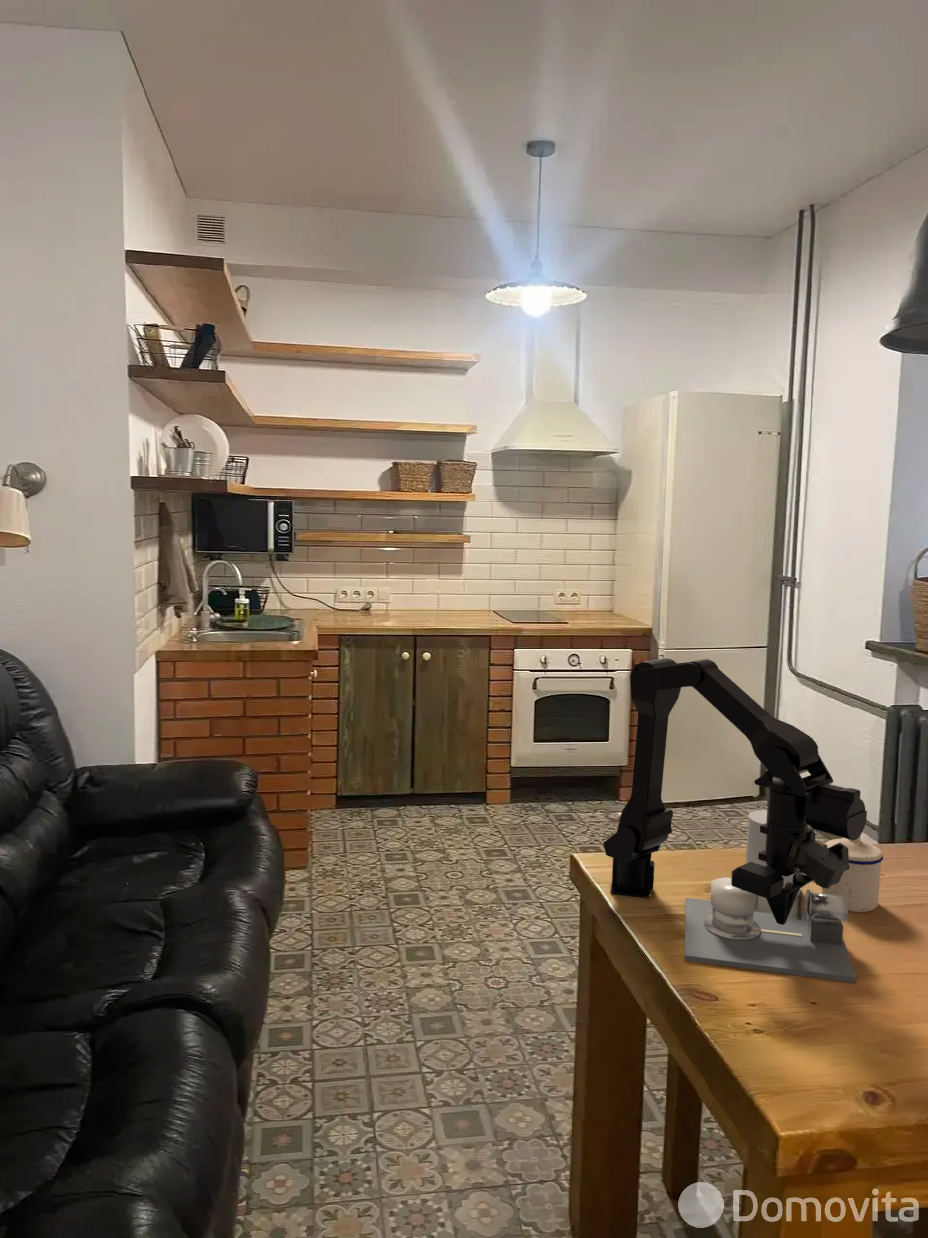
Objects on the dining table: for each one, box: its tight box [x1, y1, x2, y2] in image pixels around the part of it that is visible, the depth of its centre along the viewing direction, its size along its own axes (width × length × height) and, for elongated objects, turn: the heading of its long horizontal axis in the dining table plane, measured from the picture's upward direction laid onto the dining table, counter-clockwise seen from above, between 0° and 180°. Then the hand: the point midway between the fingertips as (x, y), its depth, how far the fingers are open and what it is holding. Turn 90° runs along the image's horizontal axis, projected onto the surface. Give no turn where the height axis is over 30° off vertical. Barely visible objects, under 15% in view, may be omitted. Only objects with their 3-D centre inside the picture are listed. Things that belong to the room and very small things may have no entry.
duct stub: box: [704, 908, 761, 940], centre depth 141 cm, size 8×8×3 cm
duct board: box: [683, 897, 858, 984], centre depth 139 cm, size 23×20×1 cm
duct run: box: [804, 889, 849, 945], centre depth 137 cm, size 6×4×7 cm
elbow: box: [709, 877, 803, 921], centre depth 139 cm, size 13×7×4 cm, turn 73°
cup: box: [745, 809, 767, 866], centre depth 158 cm, size 8×8×12 cm
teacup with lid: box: [806, 835, 884, 913], centre depth 153 cm, size 12×9×12 cm
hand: (780, 923), depth 135 cm, fingers closed
